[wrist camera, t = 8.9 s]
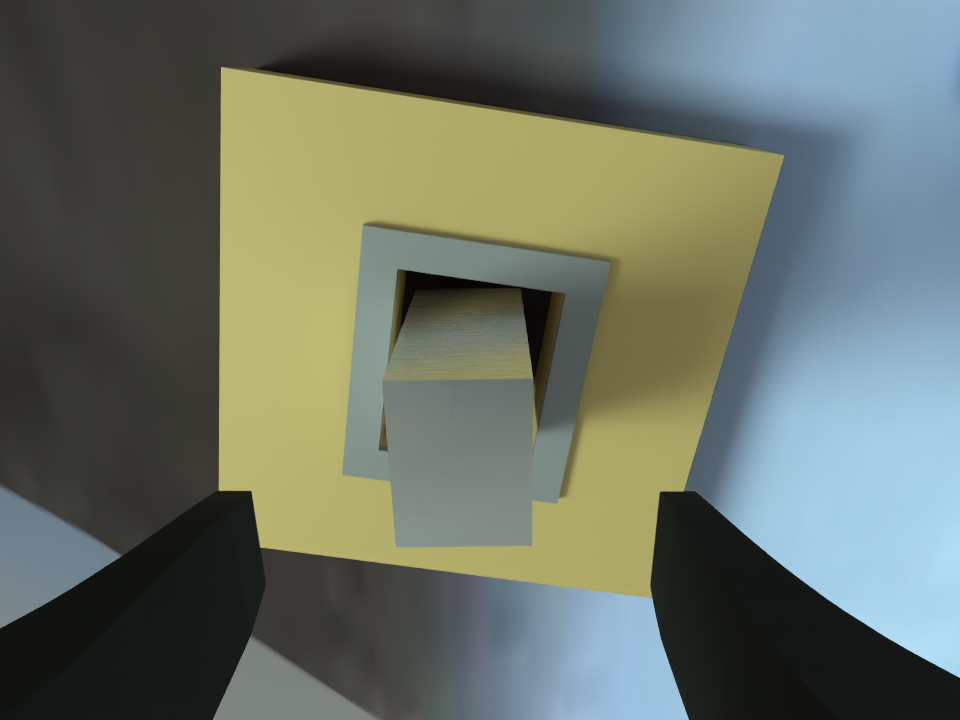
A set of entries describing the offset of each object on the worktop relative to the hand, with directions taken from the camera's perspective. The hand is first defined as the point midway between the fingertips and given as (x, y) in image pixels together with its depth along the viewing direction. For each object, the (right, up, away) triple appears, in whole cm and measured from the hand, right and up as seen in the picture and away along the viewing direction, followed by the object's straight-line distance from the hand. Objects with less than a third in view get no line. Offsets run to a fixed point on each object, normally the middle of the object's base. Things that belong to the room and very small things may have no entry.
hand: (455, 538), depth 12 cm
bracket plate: (0, +4, +10) cm, 10 cm away
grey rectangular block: (0, +4, +10) cm, 10 cm away
